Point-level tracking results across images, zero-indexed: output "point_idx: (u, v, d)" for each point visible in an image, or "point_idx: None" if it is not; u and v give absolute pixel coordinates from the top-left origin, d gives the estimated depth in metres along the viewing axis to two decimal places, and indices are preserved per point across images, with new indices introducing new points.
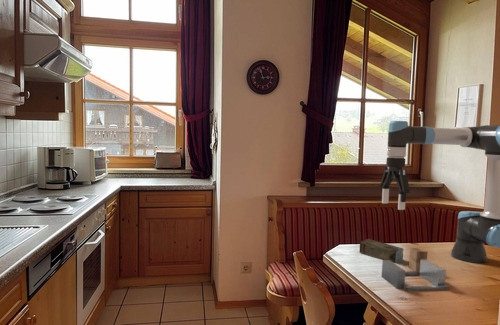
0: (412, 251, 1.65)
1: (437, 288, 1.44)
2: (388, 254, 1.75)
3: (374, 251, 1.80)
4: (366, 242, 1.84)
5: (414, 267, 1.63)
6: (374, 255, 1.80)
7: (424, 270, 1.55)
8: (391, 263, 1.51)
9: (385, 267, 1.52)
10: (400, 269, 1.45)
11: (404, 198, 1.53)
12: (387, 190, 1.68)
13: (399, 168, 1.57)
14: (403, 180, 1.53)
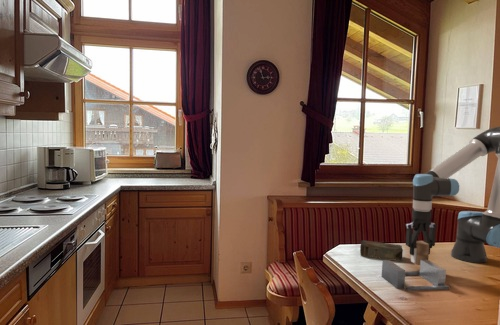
0: None
1: (437, 288, 1.44)
2: (393, 253, 1.77)
3: (378, 252, 1.78)
4: (368, 244, 1.80)
5: (416, 260, 1.63)
6: (378, 256, 1.79)
7: (424, 270, 1.55)
8: (391, 263, 1.51)
9: (385, 267, 1.52)
10: (400, 269, 1.45)
11: (410, 251, 1.64)
12: None
13: (413, 219, 1.63)
14: (406, 234, 1.64)
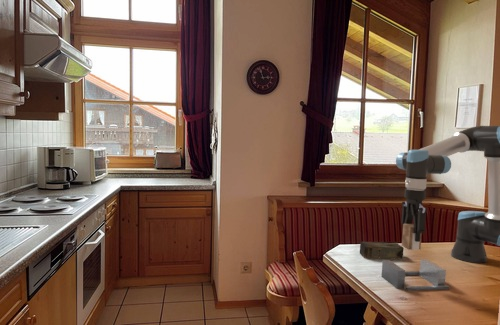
0: None
1: (437, 288, 1.44)
2: (395, 252, 1.78)
3: (382, 253, 1.78)
4: (371, 245, 1.78)
5: None
6: (381, 257, 1.78)
7: (424, 270, 1.55)
8: (391, 263, 1.51)
9: (385, 267, 1.52)
10: (400, 269, 1.45)
11: (418, 237, 1.45)
12: None
13: (419, 202, 1.44)
14: (420, 219, 1.42)
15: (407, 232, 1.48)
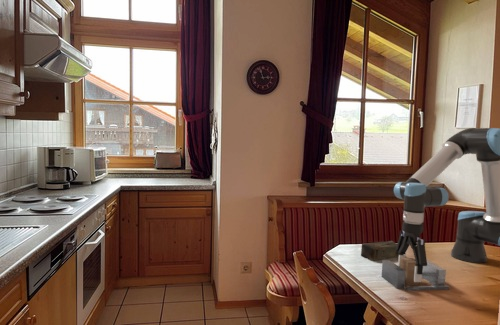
0: (411, 264, 1.48)
1: (437, 288, 1.44)
2: (395, 250, 1.81)
3: (385, 253, 1.78)
4: (376, 247, 1.76)
5: None
6: (385, 257, 1.78)
7: (424, 270, 1.55)
8: (391, 263, 1.51)
9: (385, 267, 1.52)
10: (400, 269, 1.45)
11: (421, 270, 1.43)
12: (404, 257, 1.56)
13: (416, 235, 1.45)
14: (421, 251, 1.42)
15: (404, 267, 1.49)
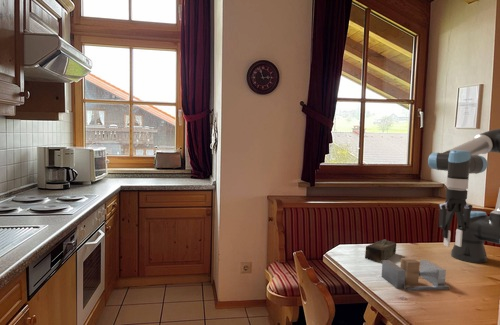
0: (411, 264, 1.48)
1: (437, 288, 1.44)
2: (392, 248, 1.84)
3: (388, 252, 1.78)
4: (382, 248, 1.75)
5: (416, 280, 1.48)
6: (387, 256, 1.79)
7: (424, 270, 1.55)
8: (391, 263, 1.51)
9: (385, 267, 1.52)
10: (400, 269, 1.45)
11: (444, 234, 1.51)
12: (459, 232, 1.52)
13: (447, 199, 1.50)
14: (440, 215, 1.51)
15: (404, 267, 1.49)
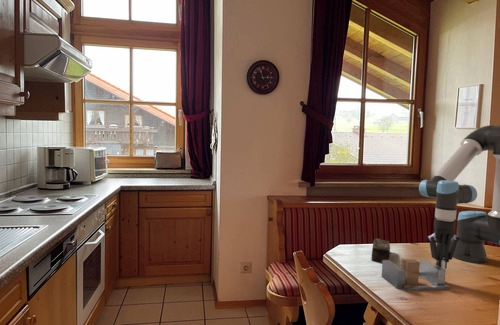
0: (411, 264, 1.48)
1: (437, 288, 1.44)
2: None
3: None
4: (387, 248, 1.75)
5: (416, 280, 1.48)
6: None
7: (423, 270, 1.55)
8: (391, 263, 1.51)
9: (385, 267, 1.52)
10: (400, 269, 1.45)
11: (437, 264, 1.52)
12: None
13: (435, 229, 1.51)
14: (430, 246, 1.52)
15: (404, 267, 1.49)
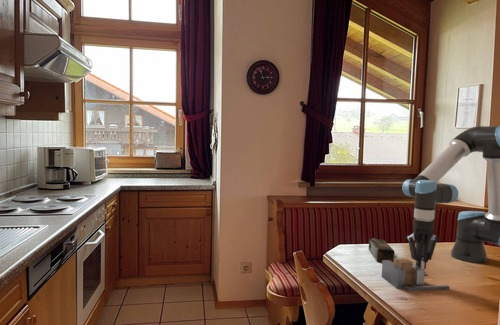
0: (404, 264, 1.47)
1: (437, 288, 1.44)
2: None
3: None
4: (390, 248, 1.76)
5: (409, 280, 1.48)
6: None
7: None
8: (391, 263, 1.51)
9: (385, 267, 1.52)
10: (400, 269, 1.45)
11: (417, 265, 1.50)
12: None
13: (414, 230, 1.49)
14: (410, 246, 1.50)
15: None
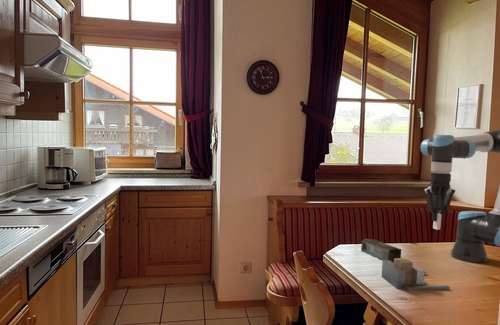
0: (404, 265, 1.47)
1: (437, 288, 1.44)
2: None
3: None
4: (395, 247, 1.78)
5: (409, 280, 1.48)
6: None
7: None
8: (391, 263, 1.51)
9: (385, 267, 1.52)
10: (400, 269, 1.45)
11: (433, 217, 1.55)
12: None
13: (431, 182, 1.54)
14: (427, 199, 1.55)
15: None
